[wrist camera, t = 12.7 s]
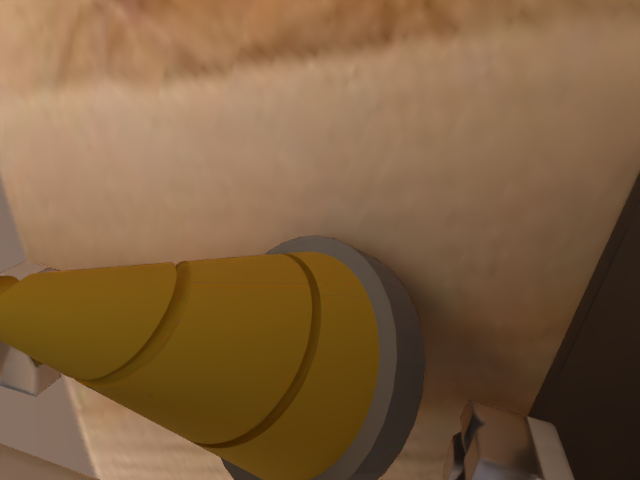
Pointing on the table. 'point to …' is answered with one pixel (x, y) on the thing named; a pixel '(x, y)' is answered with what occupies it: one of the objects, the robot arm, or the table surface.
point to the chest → (602, 364)
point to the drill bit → (241, 353)
